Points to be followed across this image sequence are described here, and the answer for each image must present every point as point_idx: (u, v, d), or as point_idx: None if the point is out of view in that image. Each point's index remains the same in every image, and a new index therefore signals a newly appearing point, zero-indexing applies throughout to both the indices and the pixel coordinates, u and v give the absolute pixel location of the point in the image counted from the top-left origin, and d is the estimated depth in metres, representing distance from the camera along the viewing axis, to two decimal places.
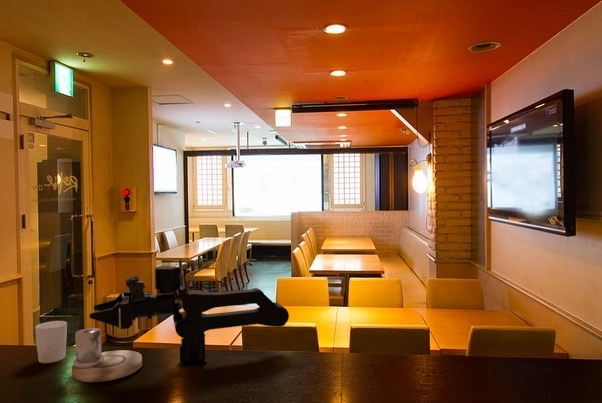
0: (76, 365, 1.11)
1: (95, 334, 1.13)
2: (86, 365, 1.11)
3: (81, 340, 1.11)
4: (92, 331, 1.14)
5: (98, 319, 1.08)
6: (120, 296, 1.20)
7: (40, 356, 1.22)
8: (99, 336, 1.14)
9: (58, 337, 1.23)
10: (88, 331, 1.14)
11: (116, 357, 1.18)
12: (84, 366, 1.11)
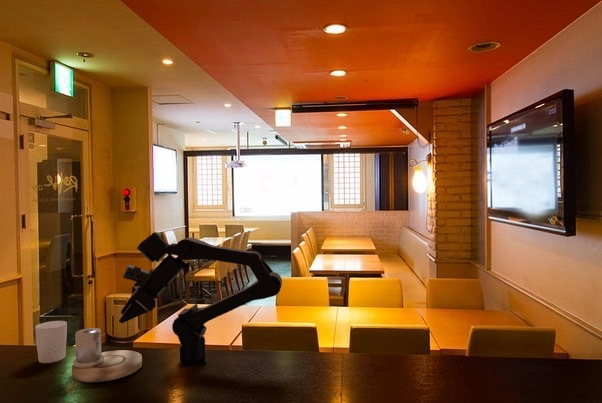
0: (76, 365, 1.11)
1: (95, 334, 1.13)
2: (86, 365, 1.11)
3: (81, 340, 1.11)
4: (92, 331, 1.14)
5: (128, 319, 1.12)
6: (133, 289, 1.23)
7: (40, 356, 1.22)
8: (99, 336, 1.14)
9: (58, 337, 1.23)
10: (88, 331, 1.14)
11: (116, 357, 1.18)
12: (84, 366, 1.11)
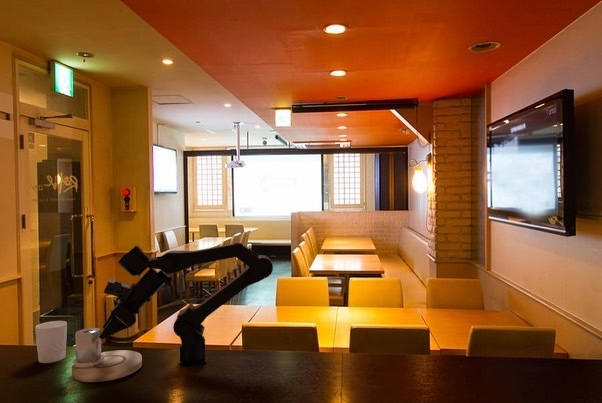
0: (76, 365, 1.11)
1: (95, 334, 1.13)
2: (86, 365, 1.11)
3: (81, 340, 1.11)
4: (92, 331, 1.14)
5: (109, 334, 1.11)
6: (115, 304, 1.21)
7: (40, 356, 1.22)
8: None
9: (58, 337, 1.23)
10: (88, 331, 1.14)
11: (116, 357, 1.18)
12: (84, 366, 1.11)
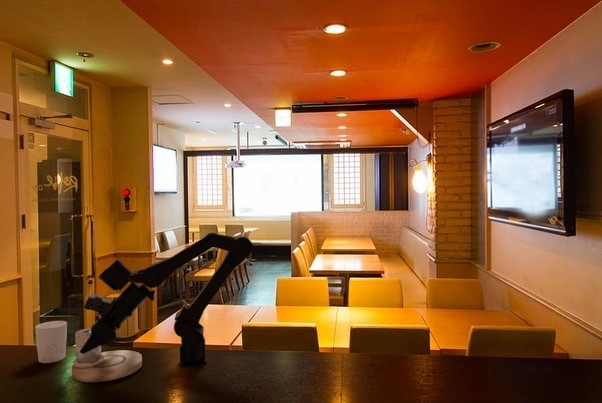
0: (76, 365, 1.11)
1: None
2: (86, 365, 1.11)
3: (81, 340, 1.11)
4: None
5: (89, 349, 1.11)
6: (96, 319, 1.18)
7: (40, 356, 1.22)
8: None
9: (58, 337, 1.23)
10: (88, 331, 1.14)
11: (116, 357, 1.18)
12: (84, 366, 1.11)
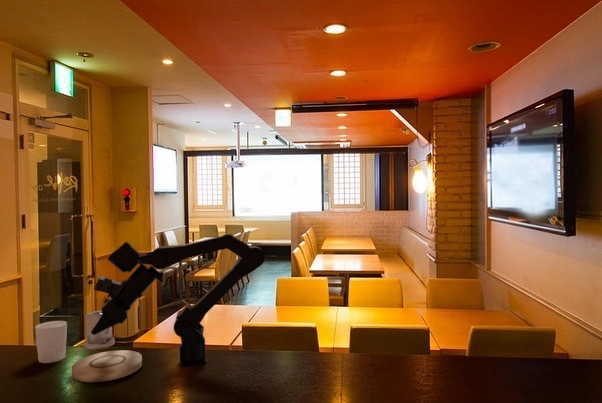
0: (87, 346, 1.12)
1: None
2: (97, 346, 1.11)
3: (92, 321, 1.12)
4: None
5: (100, 330, 1.11)
6: (106, 302, 1.19)
7: (40, 356, 1.22)
8: None
9: (58, 337, 1.23)
10: (98, 313, 1.15)
11: (116, 357, 1.18)
12: (95, 347, 1.11)
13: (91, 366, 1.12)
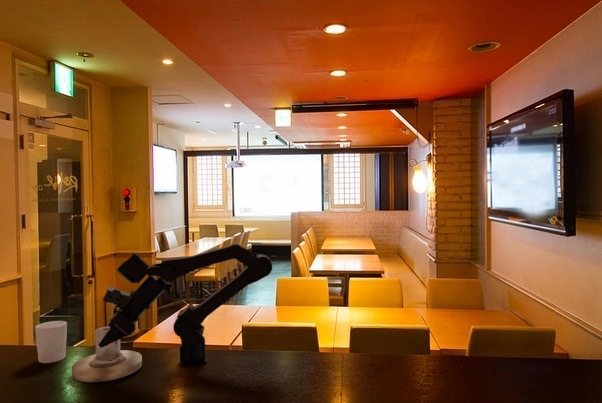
0: (96, 362, 1.12)
1: None
2: (106, 363, 1.12)
3: (101, 338, 1.13)
4: None
5: (108, 343, 1.11)
6: (115, 311, 1.21)
7: (40, 356, 1.22)
8: None
9: (58, 337, 1.23)
10: (108, 329, 1.15)
11: None
12: (104, 363, 1.12)
13: (91, 366, 1.12)
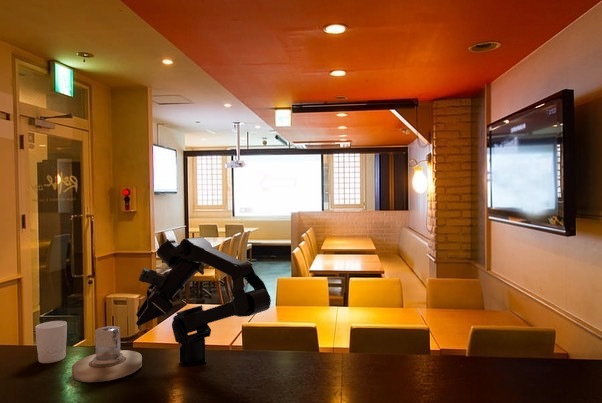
0: (96, 362, 1.12)
1: (115, 332, 1.14)
2: (106, 363, 1.12)
3: (101, 338, 1.13)
4: (112, 329, 1.15)
5: (145, 321, 1.14)
6: (148, 292, 1.24)
7: (40, 356, 1.22)
8: (119, 334, 1.16)
9: (58, 337, 1.23)
10: (108, 329, 1.15)
11: None
12: (104, 363, 1.12)
13: (91, 366, 1.12)
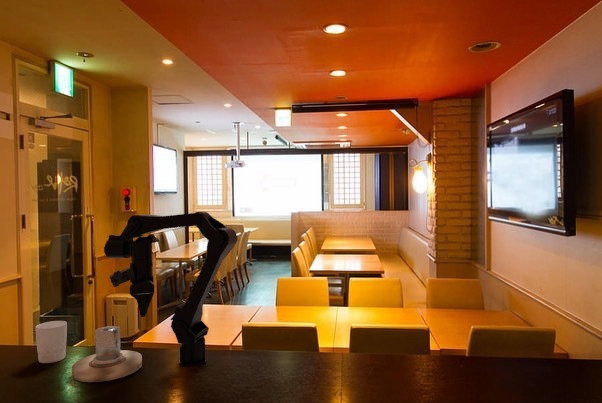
0: (96, 362, 1.12)
1: (115, 332, 1.14)
2: (106, 363, 1.12)
3: (101, 338, 1.13)
4: (112, 329, 1.15)
5: (146, 309, 1.19)
6: None
7: (40, 356, 1.22)
8: (119, 334, 1.16)
9: (58, 337, 1.23)
10: (108, 329, 1.15)
11: None
12: (104, 363, 1.12)
13: (91, 366, 1.12)
